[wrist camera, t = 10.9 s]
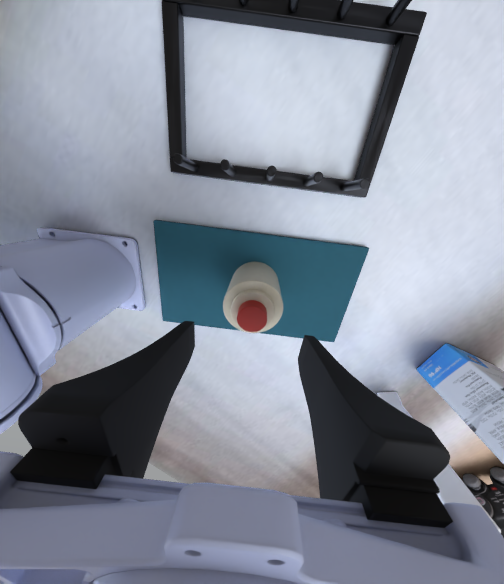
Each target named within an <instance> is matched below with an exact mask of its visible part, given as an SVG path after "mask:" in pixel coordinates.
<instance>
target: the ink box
mask: <svg viewBox="0 0 504 584" xmlns="http://www.w3.org/2000/svg"><path fill="white" fill-rule="evenodd" d="M417 371H418V372H419V373H420V374H421V375H422V376H423V378H424V379H425V380H426V381H427V382H428V383H429V384H430V385H431V386H432V387H433V388H434V389H435V390H436V392H437V393H438V394H439V395H440V396H441V397H442V398H443V399H444V400H445V401H446V402H447V403H448V404H449V406H450V407H451V408H452V409H453V410H454V411H455V412H456V413H457V414H458V415H459V416H460V417H461V419H462V420H463V421H464V422H465V423H466V424H467V425H468V426H469V427H470V428H471V429H472V430H473V432H474V433H475V434H476V435H477V436H478V437H479V438H480V439H481V440H482V441H483V442H484V444H485V445H486V446H487V447H488V448H489V449H490V450H491V451H492V452H493V453H494V455H495V456H496V457H497V458H498V459H499V460H500V461H501V462H502V463H503V464H504V371H503V370H501V369H500V368H498V367H497V366H495V365H493V364H491V363H489V362H487V361H484V360H482V359H480V358H478V357H476V356H474V355H472V354H469V353H467V352H465V351H463V350H461V349H459V348H456V347H454V346H452V345H450V344H447V343H446V344H444V345H443V346H442V347H441V348H440V349H439V350H438V351H436V352H435V353H434V354H433V355H432V356H431V357H430V358H428V359H427V360H426V361H425V362H424V363H423V364H422V365H421V366H420V367H418V368H417Z"/></svg>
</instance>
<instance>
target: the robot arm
mask: <svg viewBox="0 0 504 584" xmlns="http://www.w3.org/2000/svg"><path fill="white" fill-rule="evenodd" d="M37 233H38V236H39V239H34V240H28V241H22V242H16V243H10V244H4V245H0V434H1V433H2V432H4V431H5V430H6V429H8V428H9V427H10V426H11V425H13V424H14V423H15V422H16V421H17V420H18V419H19V420H18V421H19V423H18V425H19V427H20V429H21V431H22V432H23V434H24V436H25V437H26V438H27V440H28V442H29V443H30V444H31V446H32V449H31V450H30V451H29V452H28V453H27V454H26V455H25V457H23V456H21V455H19V454H16V453H10V452H1V451H0V584H504V538H503V536H502V535H501V533H500V532H499V531H498V529H497V528H496V527H495V525H494V524H493V522H492V521H491V520H490V518H489V517H488V515H487V514H486V513H485V511H484V510H483V509H482V507H480V506H478V505H472V504H463V503H445V504H442V502H441V500H440V499H439V497H438V495H437V494H436V493H439V492H440V489H439V488H438V486H437V484H436V483H435V481H434V478H435V477H436V476H437V475H438V474H439V473H441V472H442V471H443V470H444V469H445V468H446V466H447V465H448V464H449V460H450V455H449V452H448V451H447V449H446V448H445V447H444V445H443V444H442V443H441V441H440V440H439V439H438V437H437V436H436V435H435V433H434V432H433V431H432V429H430V428H429V427H427V426H425V425H423V424H422V423H420V422H418V421H417V420H415V419H413V418H411V417H410V416H408V415H406V414H404V413H403V412H401V411H400V410H398V409H397V408H395V407H394V406H392V405H390V404H389V403H387V402H386V401H385V400H383V399H382V398H380V397H379V396H377V395H376V394H375V393H373V392H372V391H371V390H369V389H368V388H367V387H365V386H364V385H363V384H362V383H361V382H359V381H358V380H357V379H356V378H355V377H353V376H352V375H351V374H350V373H349V372H348V371H347V370H346V369H345V368H344V367H343V366H342V365H340V364H339V362H338V361H337V360H336V359H335V358H334V357H333V356H332V355H331V354H330V353H329V352H328V351H327V350H326V349H325V348H324V346H323V345H322V344H321V343H320V342H319V341H318V340H317V339H316V338H315V337H314V336H309V335H304V339H303V342H302V346H301V349H300V353H299V356H298V365H299V372H300V377H301V381H302V385H303V389H304V393H305V397H306V401H307V405H308V409H309V413H310V419H311V425H312V431H313V438H314V446H315V453H316V461H317V470H318V479H319V489H320V498H311V497H302V496H293V495H288V494H286V493H284V492H280V491H275V490H269V489H260V488H252V487H243V486H234V485H225V484H216V483H193V484H186V483H177V482H169V481H160V480H150V479H143V477H144V474H145V471H146V468H147V465H148V462H149V459H150V456H151V453H152V450H153V447H154V444H155V441H156V438H157V435H158V433H159V430H160V427H161V424H162V422H163V419H164V416H165V414H166V411H167V408H168V406H169V403H170V401H171V398H172V396H173V394H174V392H175V390H176V388H177V386H178V384H179V382H180V380H181V378H182V376H183V374H184V372H185V369H186V367H187V365H188V363H189V361H190V359H191V356H192V353H193V350H194V347H195V336H194V322H192V321H184V322H182V323H181V324H180V325H178V326H177V327H175V328H174V329H173V330H171V331H170V332H169V333H167V334H166V335H164V336H163V337H162V338H160V339H158V340H157V341H155V342H154V343H152V344H151V345H149V346H148V347H146V348H144V349H142V350H141V351H139V352H137V353H135V354H133V355H131V356H129V357H127V358H125V359H123V360H121V361H119V362H117V363H114V364H112V365H110V366H108V367H105V368H103V369H100V370H98V371H95V372H92V373H90V374H87V375H84V376H81V377H78V378H75V379H72V380H69V381H66V382H63V383H59V384H56V385H53V386H52V387H51V388H49V389H48V390H47V391H46V392H45V393H44V394H43V395H41V396H40V397H39V394H40V392H41V390H42V378H41V377H40V375H41V374H43V373H44V372H45V371H47V370H48V369H49V368H50V367H52V366H53V365H54V364H55V363H56V360H55V353H56V352H57V351H58V350H60V349H61V348H62V347H64V346H65V345H66V344H68V343H69V342H71V341H72V340H73V339H75V338H76V337H77V336H79V335H80V334H82V333H83V332H84V331H86V330H87V329H88V328H90V327H91V326H92V325H94V324H95V323H97V322H98V321H99V320H101V319H102V318H103V317H105V316H106V315H108V314H109V313H110V312H112V311H113V310H114V309H116V308H123V309H131V310H139V311H142V310H144V309H145V299H144V291H143V284H142V276H141V269H140V261H139V254H138V246H137V242H136V241H135V240H134V239H131V238H124V237H116V236H108V235H100V234H92V233H85V232H77V231H69V230H61V229H53V228H46V227H41V228H38V229H37ZM54 234H55V235H54ZM125 241H126V242H127V244H128V245H126V244H125ZM135 305H137V307H136V306H135ZM38 397H39V398H38ZM37 398H38V399H37Z"/></svg>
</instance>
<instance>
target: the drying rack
mask: <svg viewBox="0 0 504 584" xmlns="http://www.w3.org/2000/svg"><path fill="white" fill-rule="evenodd" d="M411 1H412V0H398V1H397V2H396V4H395V5H394V7H386V6H378V5H371V4H364V3H357V2H353V0H162V14H163V34H164V53H165V72H166V91H167V110H168V129H169V148H170V167H171V172H173V173H177V174H185V175H193V176H200V177H208V178H216V179H223V180H231V181H239V182H246V183H254V184H261V185H269V186H277V187H284V188H292V189H300V190H307V191H315V192H323V193H330V194H338V195H346V196H353V197H366V196H367V193H368V189H369V186H370V183H371V181H372V177H373V174H374V171H375V168H376V165H377V162H378V159H379V156H380V153H381V150H382V147H383V144H384V141H385V138H386V135H387V132H388V129H389V126H390V123H391V120H392V117H393V114H394V111H395V108H396V105H397V102H398V99H399V96H400V93H401V90H402V87H403V84H404V81H405V78H406V75H407V72H408V69H409V66H410V63H411V60H412V57H413V54H414V51H415V48H416V45H417V42H418V39H419V35H420V32H421V29H422V26H423V23H424V20H425V17H426V14H427V13H426V12H422V11H414V10H407V9H406V7H407V6H408V5H409V3H410V2H411ZM183 16H190V17H197V18H205V19H212V20H219V21H226V22H234V23H241V24H248V25H256V26H263V27H270V28H277V29H285V30H292V31H299V32H307V33H314V34H321V35H328V36H336V37H343V38H350V39H358V40H365V41H372V42H379V43H387V44H394V45H395V46H394V48H393V52H392V55H391V58H390V62H389V65H388V68H387V72H386V75H385V78H384V82H383V85H382V88H381V92H380V95H379V99H378V102H377V105H376V109H375V112H374V115H373V119H372V122H371V125H370V129H369V132H368V135H367V139H366V142H365V146H364V149H363V152H362V156H361V159H360V162H359V166H358V169H357V172H356V176H355V179H354V181H348V180H341V179H333V178H326V177H323V174H322V173H321V172H317V173H315V174H313V175H311V176H310V175H303V174H295V173H288V172H280V171H276V168H275V167H274V166H269V167H268V169H267V170H265V169H257V168H250V167H242V166H234V165H231V164H230V163H229V162H228V161H227V160H222V161H221V163H220V164H219V163H211V162H204V161H196V160H189V159H187V158H186V118H185V73H184V29H183Z"/></svg>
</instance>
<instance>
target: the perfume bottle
mask: <svg viewBox="0 0 504 584" xmlns="http://www.w3.org/2000/svg"><path fill="white" fill-rule="evenodd" d="M376 395H377V396H379V397H380V398H382V399H383V400H385V401H386V402H387V403H389V404H390V405H392V406H394V407H395V408H397V409H398V410H400V411H401V412H403V413H404V414H406V415H408V416H410V417H411V418H412V416H411V415H410V414H409V413H408V411H407V410H406V409H405V407H404V406H403V405H402V403H401V400H400V398H399V395H398V393H397V392H379V393H377V394H376ZM434 481H435V483H436V484H437V486H438V488H439V489H440V492H439V493H436V494H437V495H438V497H439V499H440V500H441V502H442V504H445V503H463V504H472V505H478V506H480V507H482V505H481V504H480V503H479V502H478V500H477V499H476V498H475V497H474V495H473V494H472V493H471V491H470V490H469V489H468V488H467V486H466V485H465V484H464V483H463V481H462V480H461V479H460V477H459V476H458V475H457V474H456V472H455V471H454V470H453V469H452V467H451V466H450V465H449V464H448V465H447V466H446V468H445V469H444V470H443V471H442V472H441V473H439V474H438V475H437V476H436V477H435V478H434ZM482 509H483V510H484V511H485V509H484V508H483V507H482ZM485 513H486V514H487V515H488V517H489V518H490V520H491V521H492V522H493V524H494V525H495V527H496V528H497V529H498V531H499V532H500V533H501V530H500V528H499V527H498V526H497V525H496V523H495V522H494V521H493V519H492V518H491V517H490V516H489V514H488V513H487V512H486V511H485Z"/></svg>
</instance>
